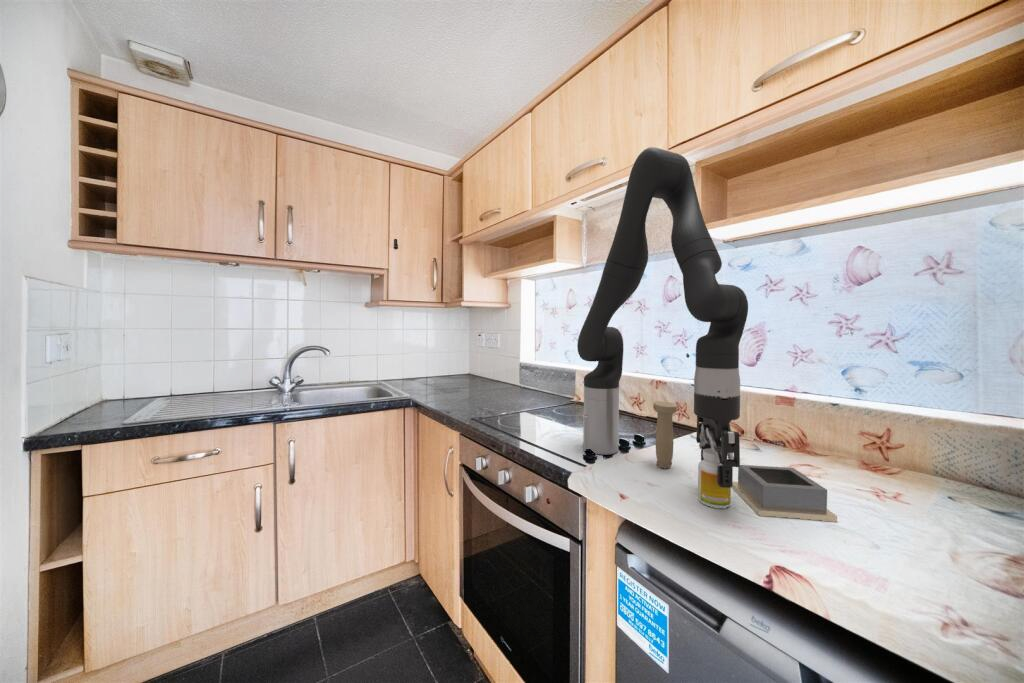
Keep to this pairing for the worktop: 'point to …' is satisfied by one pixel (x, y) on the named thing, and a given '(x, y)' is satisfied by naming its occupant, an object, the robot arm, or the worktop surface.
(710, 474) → the supplement bottle
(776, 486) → the gray open box
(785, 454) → the worktop surface
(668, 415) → the handle
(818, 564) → the worktop surface
